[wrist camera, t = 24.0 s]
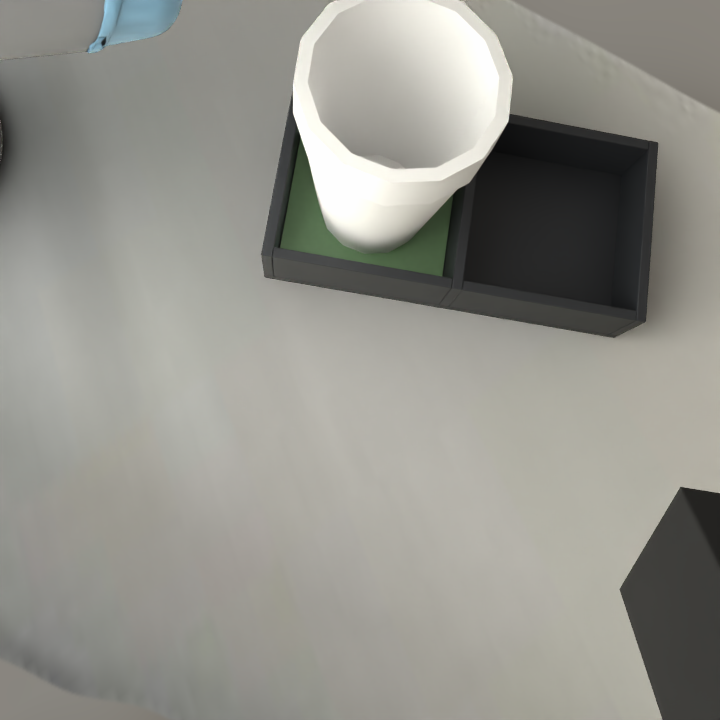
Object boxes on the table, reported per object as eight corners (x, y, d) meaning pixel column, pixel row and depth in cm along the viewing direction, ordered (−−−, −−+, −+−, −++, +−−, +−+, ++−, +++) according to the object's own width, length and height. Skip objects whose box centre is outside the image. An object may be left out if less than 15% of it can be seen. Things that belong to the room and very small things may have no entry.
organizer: (264, 277, 41) (261, 254, 37) (295, 110, 43) (295, 72, 39) (614, 338, 42) (646, 322, 39) (627, 172, 45) (659, 142, 41)
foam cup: (276, 153, 42) (267, 7, 29) (417, 118, 43) (468, -37, 31) (322, 297, 41) (334, 208, 28) (467, 256, 42) (542, 153, 29)
